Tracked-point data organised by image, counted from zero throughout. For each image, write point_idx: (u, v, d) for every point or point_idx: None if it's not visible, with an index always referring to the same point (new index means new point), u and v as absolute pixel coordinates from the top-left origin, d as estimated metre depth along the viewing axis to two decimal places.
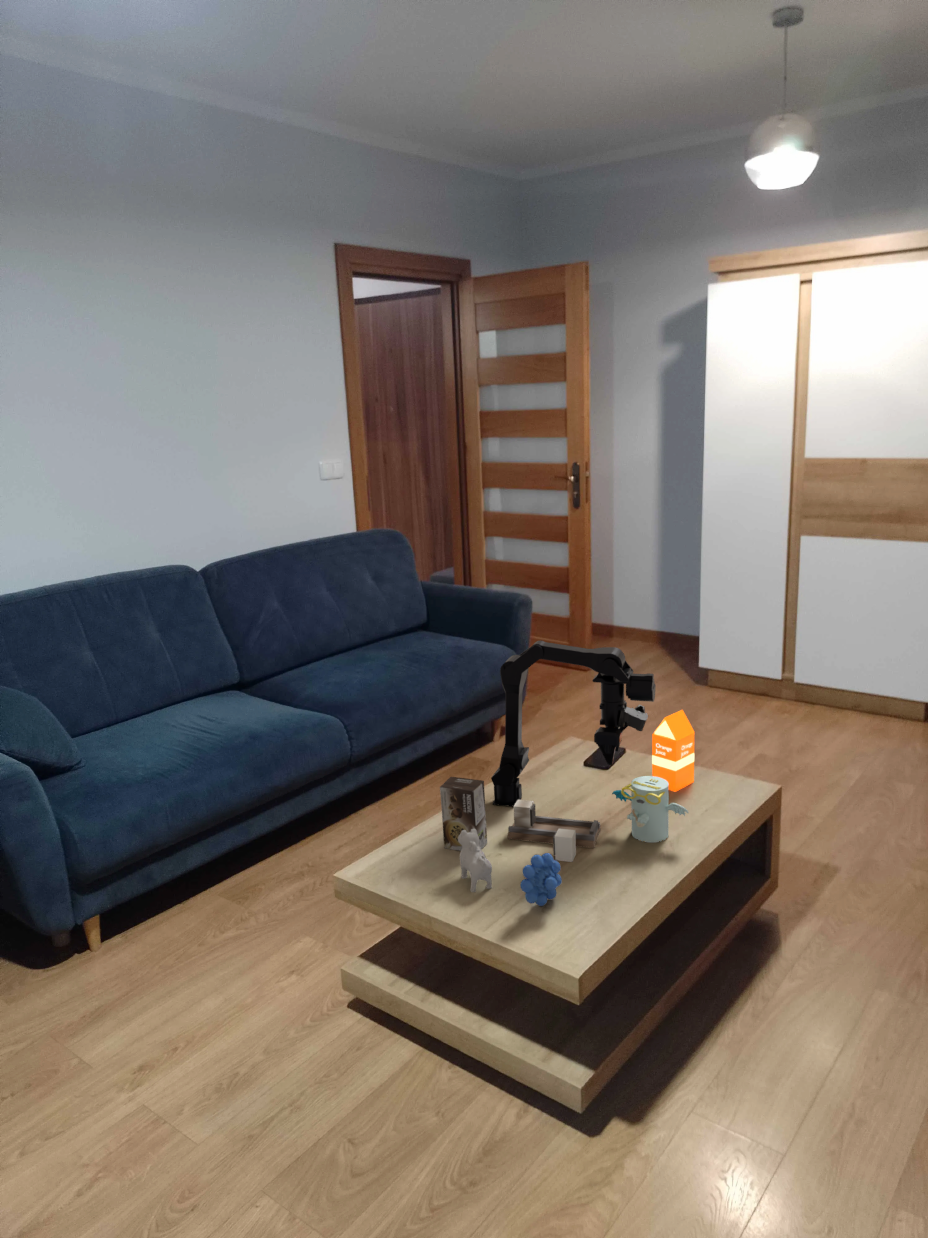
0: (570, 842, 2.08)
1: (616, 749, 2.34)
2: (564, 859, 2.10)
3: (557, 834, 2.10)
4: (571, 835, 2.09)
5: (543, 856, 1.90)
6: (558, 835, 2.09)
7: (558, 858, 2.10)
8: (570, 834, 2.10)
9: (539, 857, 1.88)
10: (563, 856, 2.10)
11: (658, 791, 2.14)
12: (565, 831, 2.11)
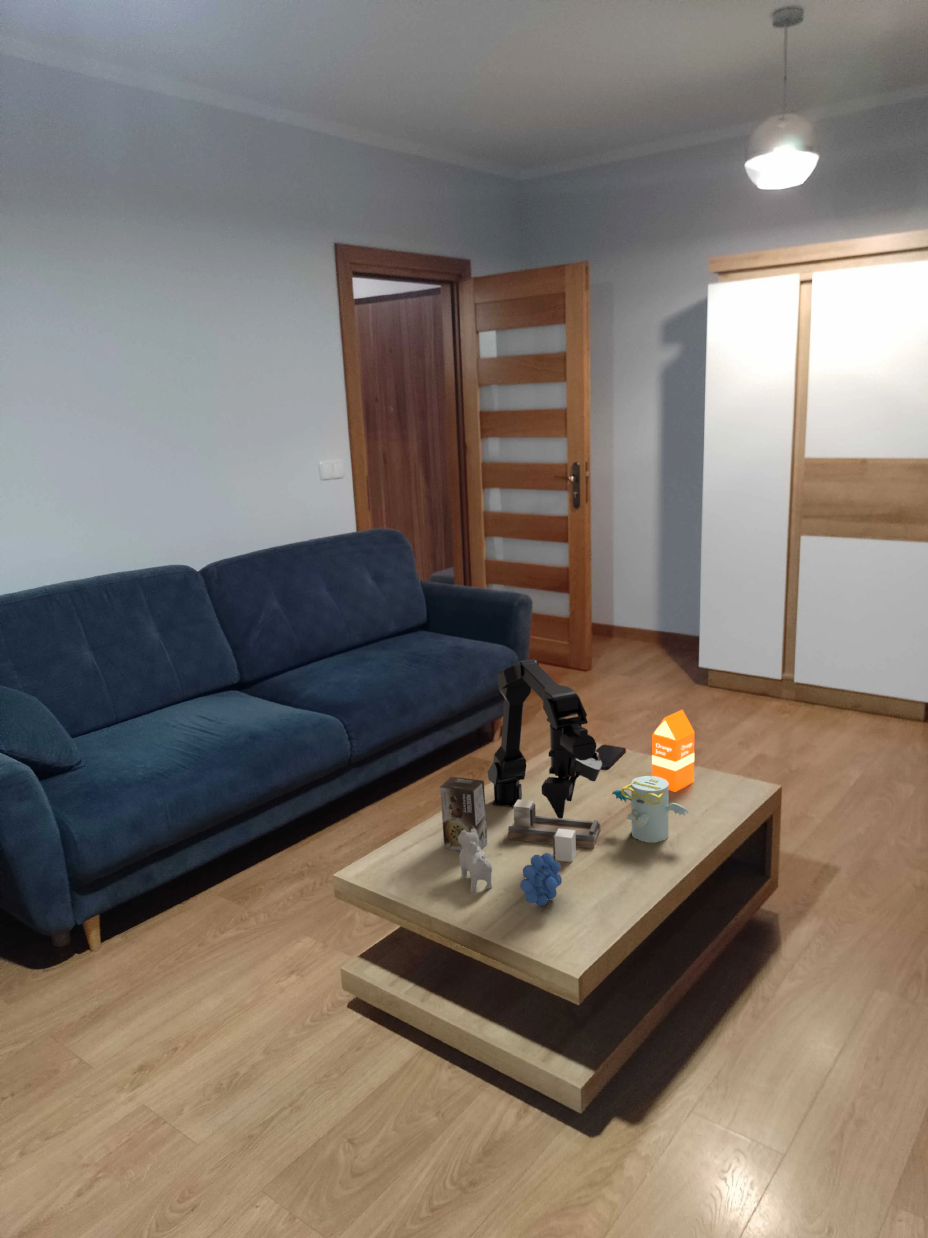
0: (570, 842, 2.08)
1: (569, 799, 2.13)
2: (564, 859, 2.10)
3: (557, 834, 2.10)
4: (571, 835, 2.09)
5: (543, 856, 1.90)
6: (558, 835, 2.09)
7: (558, 858, 2.10)
8: (570, 834, 2.10)
9: (539, 857, 1.88)
10: (563, 856, 2.10)
11: (658, 791, 2.14)
12: (565, 831, 2.11)
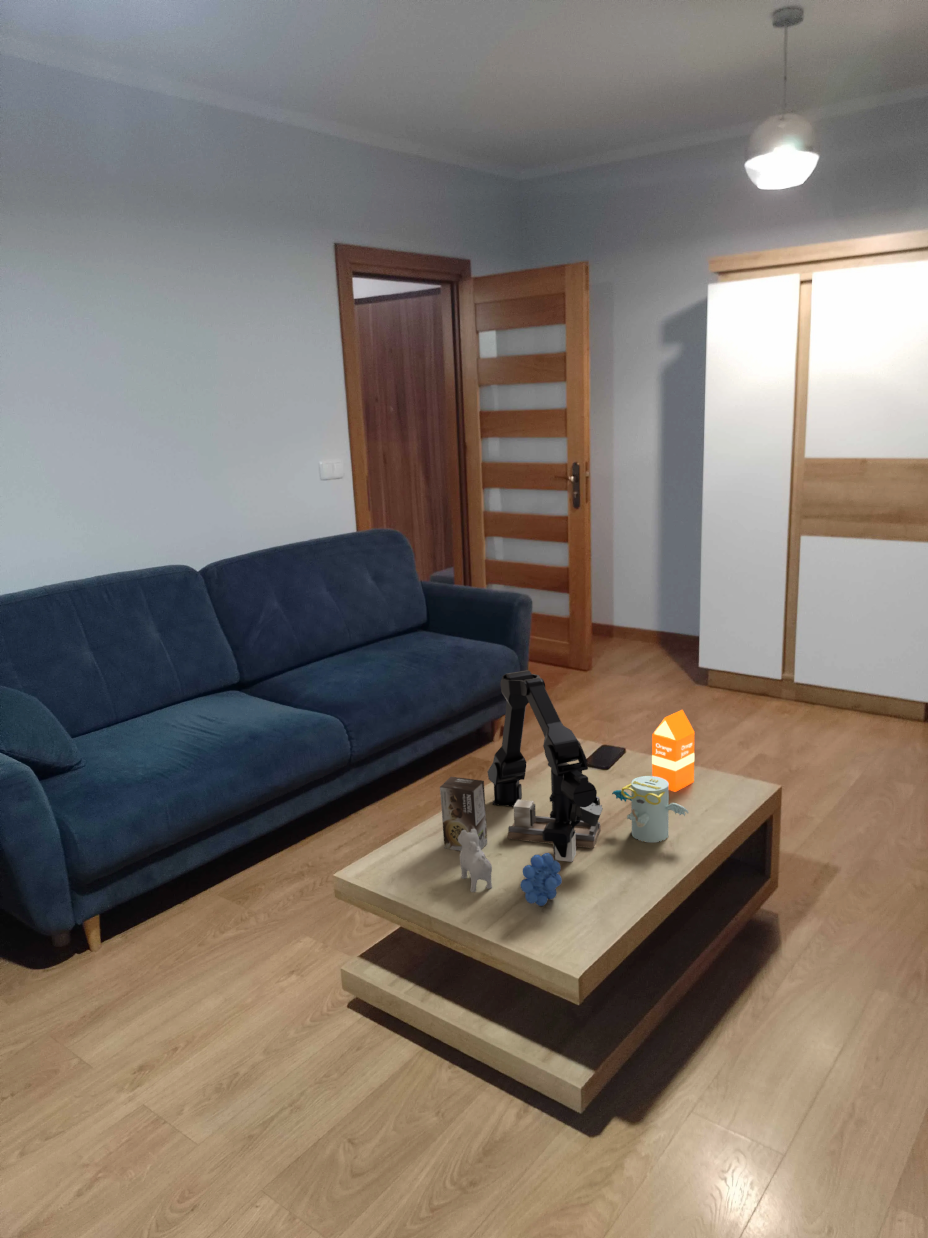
0: (570, 842, 2.08)
1: None
2: (564, 859, 2.10)
3: None
4: None
5: (543, 856, 1.90)
6: None
7: (558, 858, 2.10)
8: None
9: (539, 857, 1.88)
10: None
11: (658, 791, 2.14)
12: None
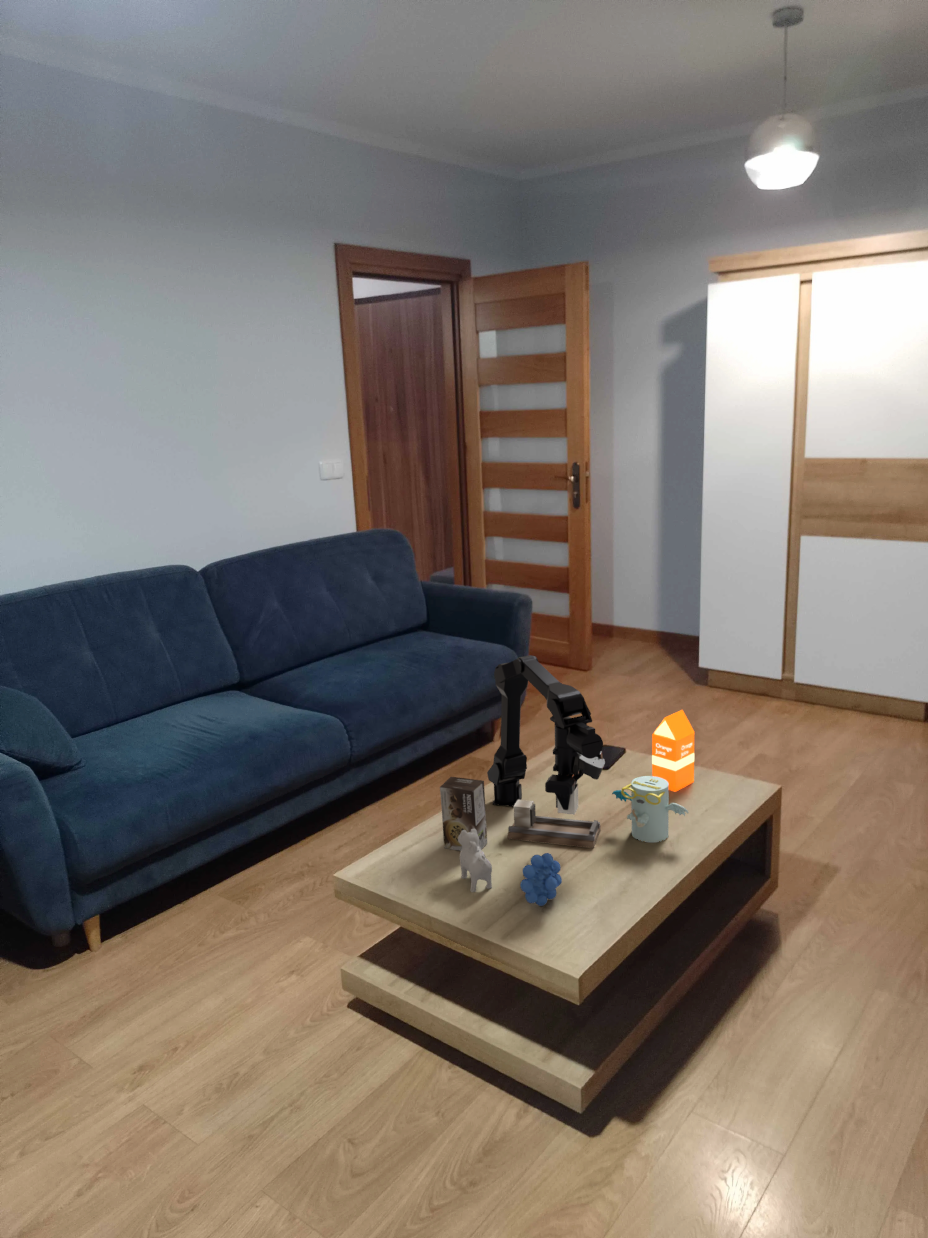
0: (572, 795, 2.11)
1: None
2: (566, 812, 2.12)
3: None
4: None
5: (543, 856, 1.90)
6: None
7: (560, 811, 2.13)
8: None
9: (539, 857, 1.88)
10: None
11: (658, 791, 2.14)
12: None
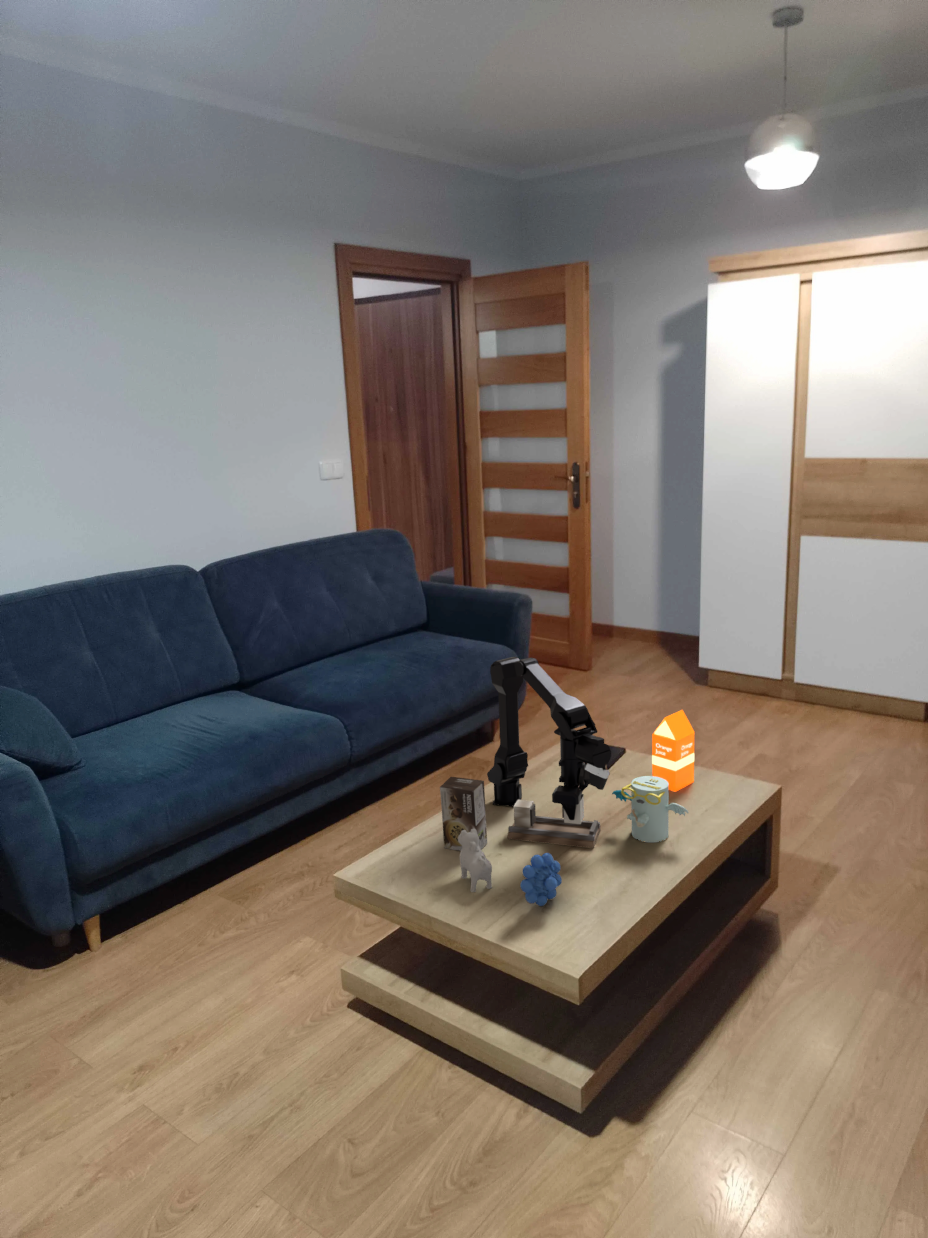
0: (578, 805, 2.16)
1: None
2: (573, 821, 2.18)
3: None
4: None
5: (543, 856, 1.90)
6: None
7: (567, 821, 2.18)
8: None
9: (539, 857, 1.88)
10: None
11: (658, 791, 2.14)
12: None
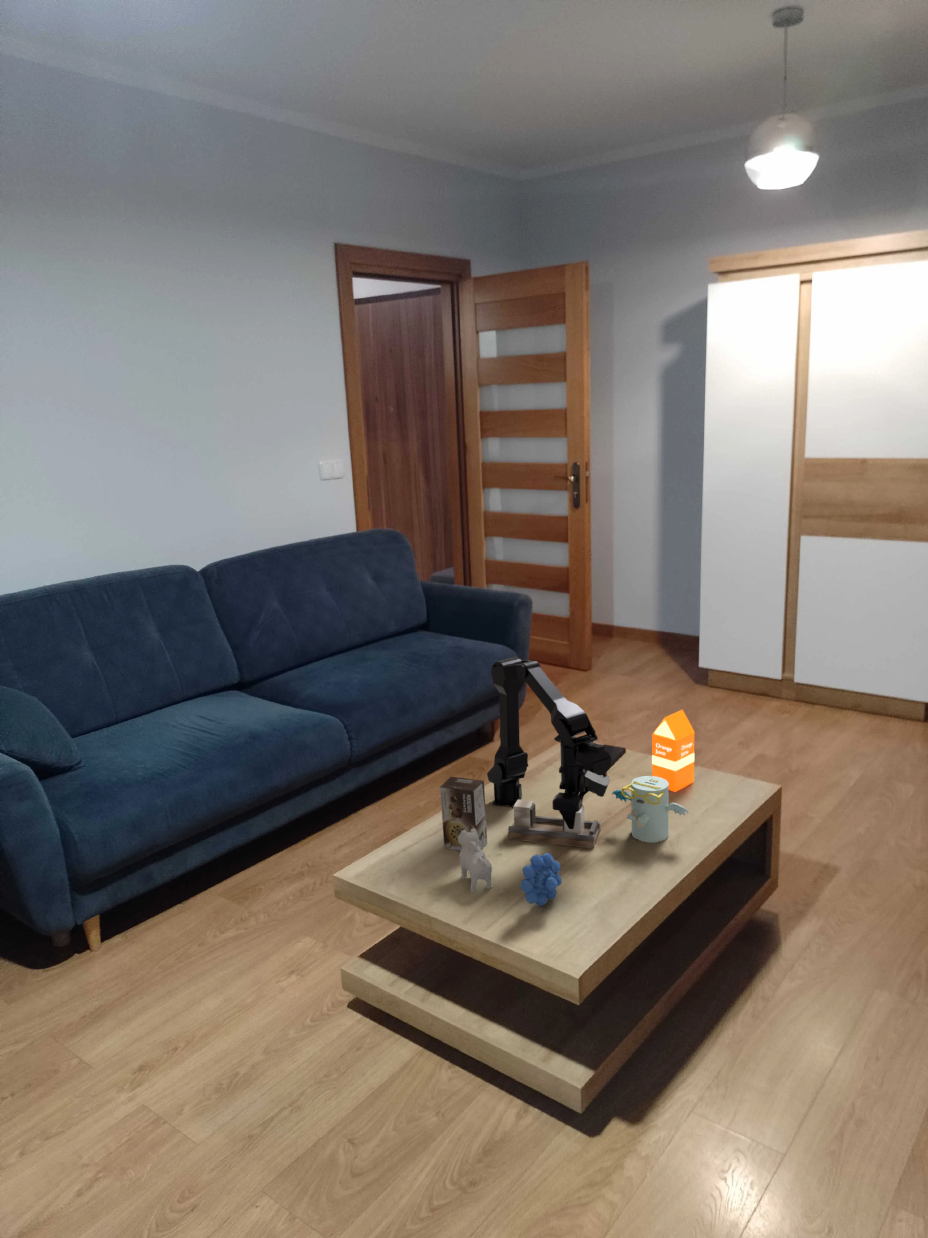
0: (579, 817, 2.17)
1: None
2: None
3: None
4: (580, 810, 2.18)
5: (543, 856, 1.90)
6: None
7: None
8: None
9: (539, 857, 1.88)
10: (572, 830, 2.19)
11: (658, 791, 2.14)
12: None
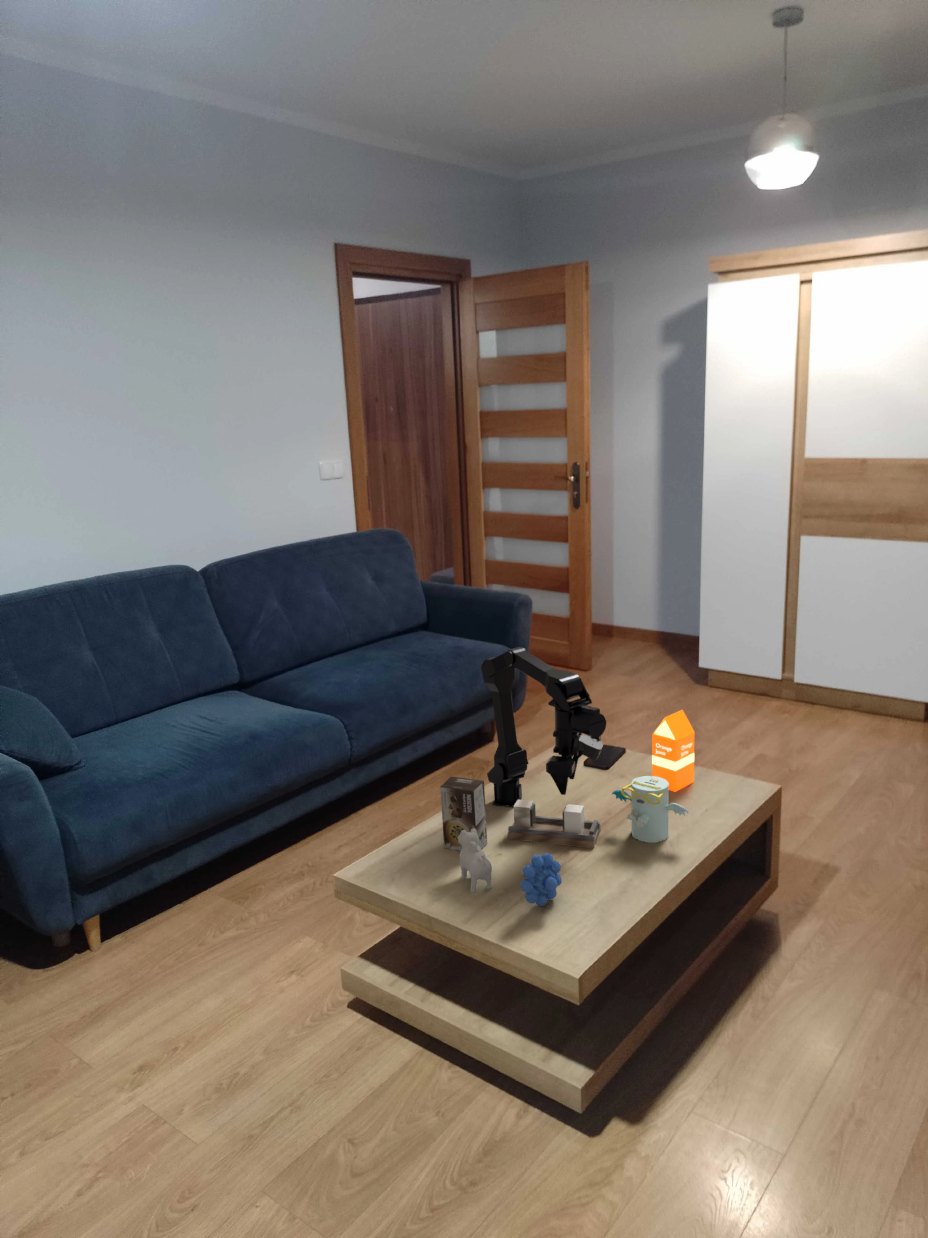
0: (579, 817, 2.17)
1: (571, 777, 2.26)
2: None
3: (566, 809, 2.19)
4: (580, 810, 2.18)
5: (543, 856, 1.90)
6: (567, 810, 2.18)
7: None
8: (578, 809, 2.19)
9: (539, 857, 1.88)
10: (572, 830, 2.19)
11: (658, 791, 2.14)
12: (574, 806, 2.20)
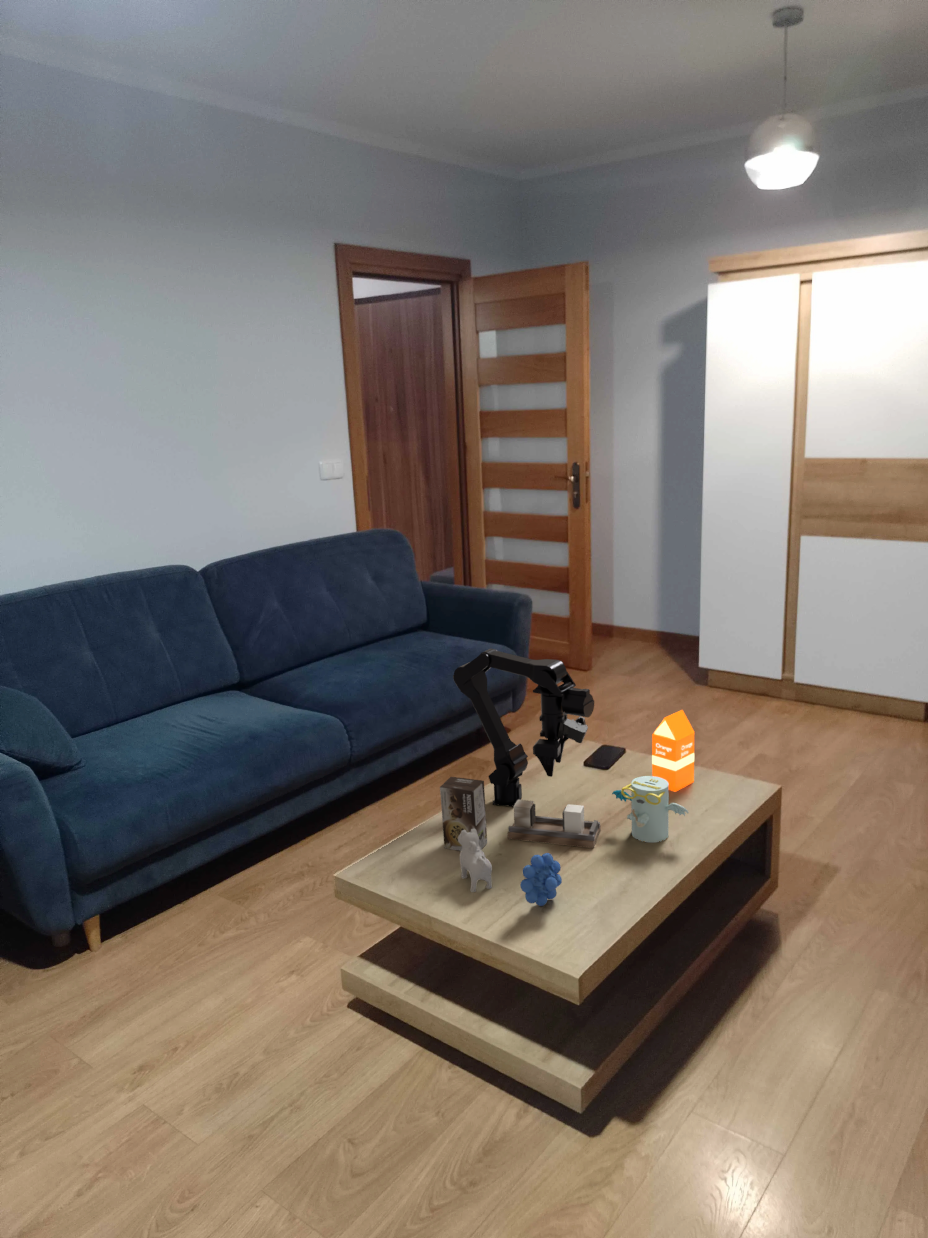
0: (579, 817, 2.17)
1: (558, 760, 2.35)
2: None
3: (566, 809, 2.19)
4: (580, 810, 2.18)
5: (543, 856, 1.90)
6: (567, 810, 2.18)
7: None
8: (578, 809, 2.19)
9: (539, 857, 1.88)
10: (572, 830, 2.19)
11: (658, 791, 2.14)
12: (574, 806, 2.20)
